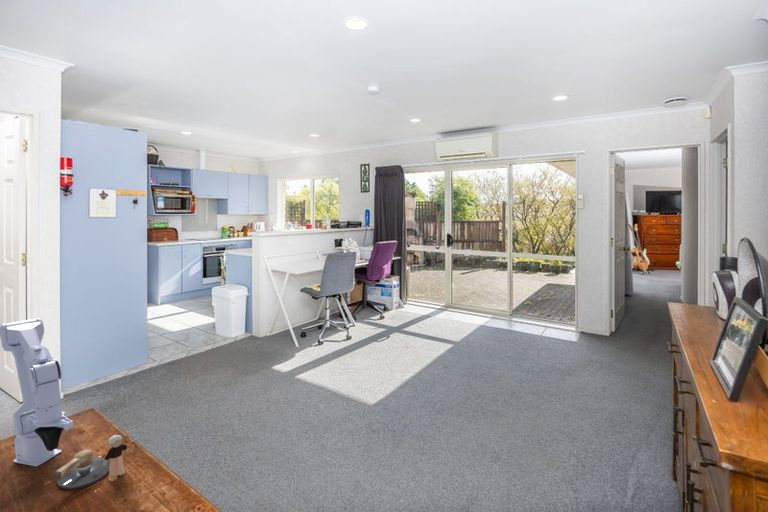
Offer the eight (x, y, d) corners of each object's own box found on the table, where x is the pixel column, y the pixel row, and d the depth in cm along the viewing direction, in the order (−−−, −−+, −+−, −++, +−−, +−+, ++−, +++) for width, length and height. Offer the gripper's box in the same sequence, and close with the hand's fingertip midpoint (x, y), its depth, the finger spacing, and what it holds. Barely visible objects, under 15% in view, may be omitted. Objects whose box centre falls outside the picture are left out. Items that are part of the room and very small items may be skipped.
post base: (45, 484, 117) (44, 474, 116) (87, 457, 129) (86, 447, 129) (82, 492, 114) (81, 481, 113) (121, 463, 126) (120, 453, 126)
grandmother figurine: (113, 484, 117) (109, 443, 116) (101, 482, 118) (98, 441, 116) (134, 467, 125) (131, 428, 123) (123, 465, 125) (120, 427, 124)
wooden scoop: (63, 484, 112) (61, 474, 112) (48, 483, 113) (47, 473, 112) (96, 459, 123) (96, 450, 123) (83, 458, 124) (83, 448, 123)
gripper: (82, 400, 117) (86, 444, 119) (42, 394, 120) (47, 437, 122) (57, 412, 110) (62, 459, 112) (16, 405, 114) (21, 451, 115)
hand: (52, 448), depth 117 cm, fingers closed
